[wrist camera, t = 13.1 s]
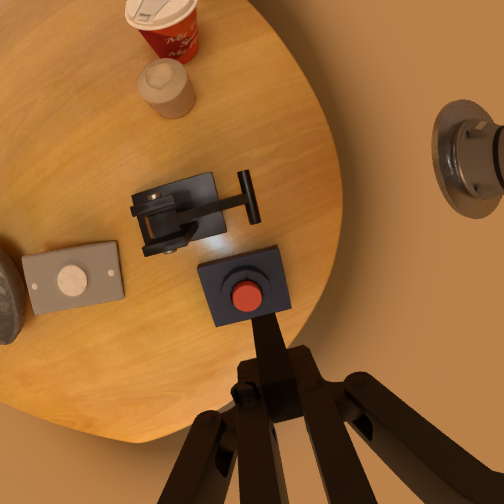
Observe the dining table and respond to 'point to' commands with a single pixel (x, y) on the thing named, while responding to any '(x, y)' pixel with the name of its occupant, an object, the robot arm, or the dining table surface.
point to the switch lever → (205, 210)
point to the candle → (166, 88)
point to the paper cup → (166, 26)
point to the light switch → (73, 277)
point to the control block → (245, 269)
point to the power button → (247, 296)
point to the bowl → (11, 300)
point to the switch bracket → (180, 198)
